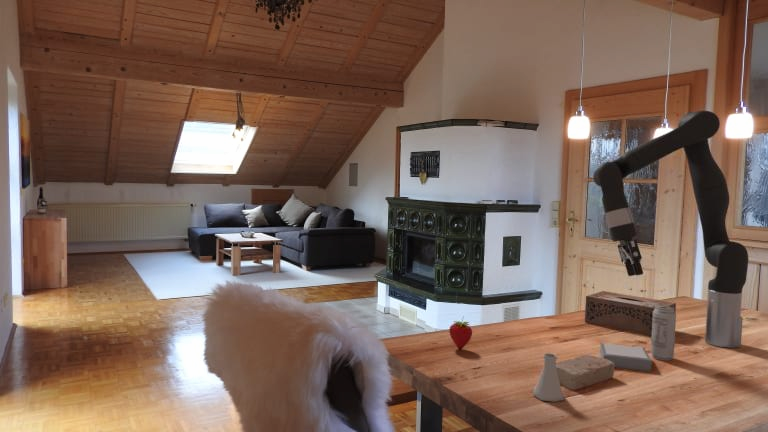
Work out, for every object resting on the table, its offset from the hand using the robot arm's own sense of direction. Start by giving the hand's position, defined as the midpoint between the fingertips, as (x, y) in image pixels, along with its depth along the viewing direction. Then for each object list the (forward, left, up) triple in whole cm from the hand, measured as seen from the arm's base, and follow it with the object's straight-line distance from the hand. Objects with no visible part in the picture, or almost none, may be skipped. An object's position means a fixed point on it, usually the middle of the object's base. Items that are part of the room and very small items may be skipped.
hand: (635, 275), depth 166 cm
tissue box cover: (-2, -27, -23) cm, 35 cm away
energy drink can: (-7, +8, -23) cm, 25 cm away
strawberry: (+50, +22, -23) cm, 59 cm away
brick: (+16, +35, -23) cm, 45 cm away
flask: (+24, +50, -23) cm, 60 cm away
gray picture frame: (+4, +16, -23) cm, 28 cm away
